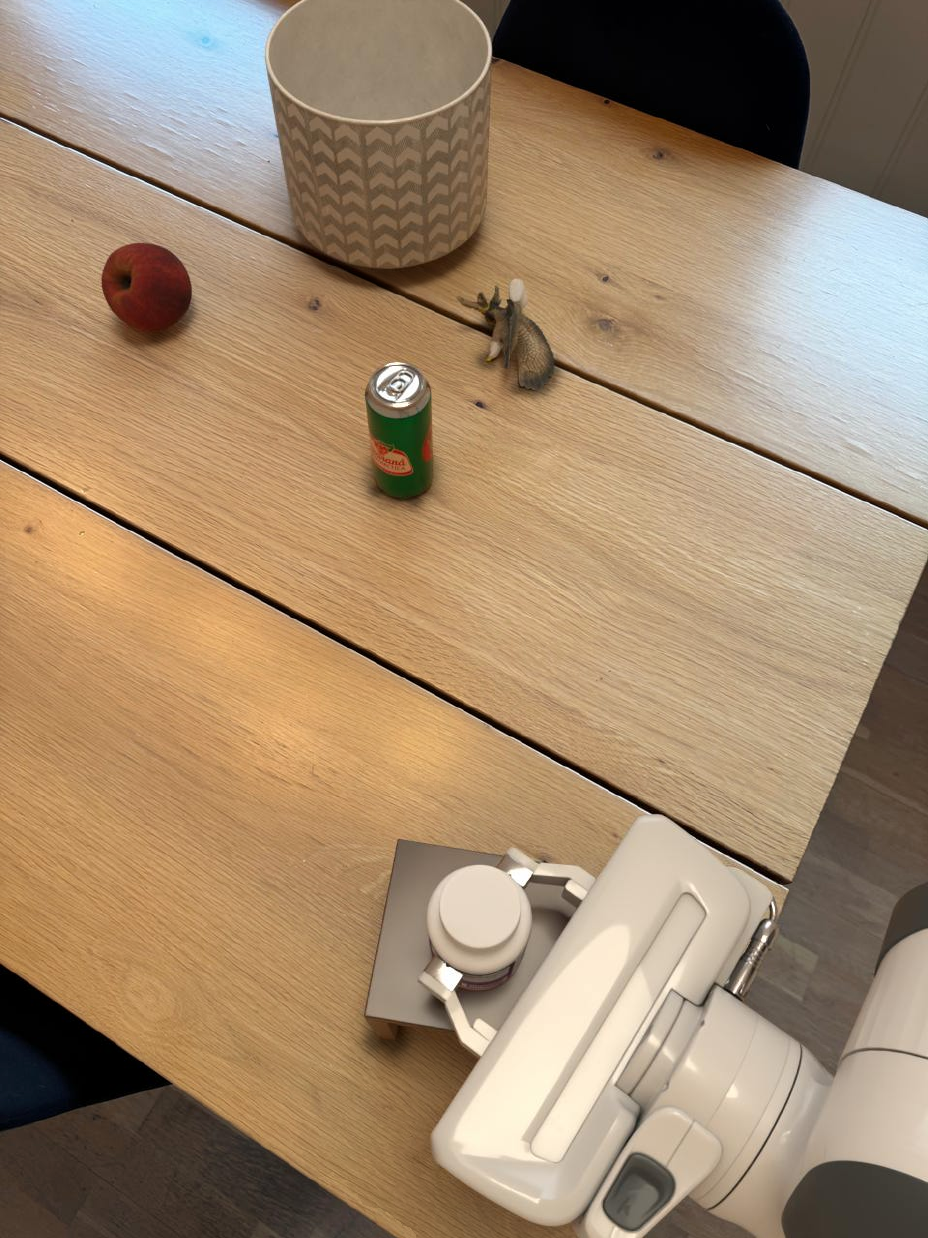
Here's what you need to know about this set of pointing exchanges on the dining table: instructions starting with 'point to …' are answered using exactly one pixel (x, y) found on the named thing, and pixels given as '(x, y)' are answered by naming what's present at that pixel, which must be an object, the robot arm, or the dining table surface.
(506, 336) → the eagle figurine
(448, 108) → the planter
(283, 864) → the dining table surface
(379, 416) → the soda can
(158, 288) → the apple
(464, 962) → the pill bottle
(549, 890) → the small side table
